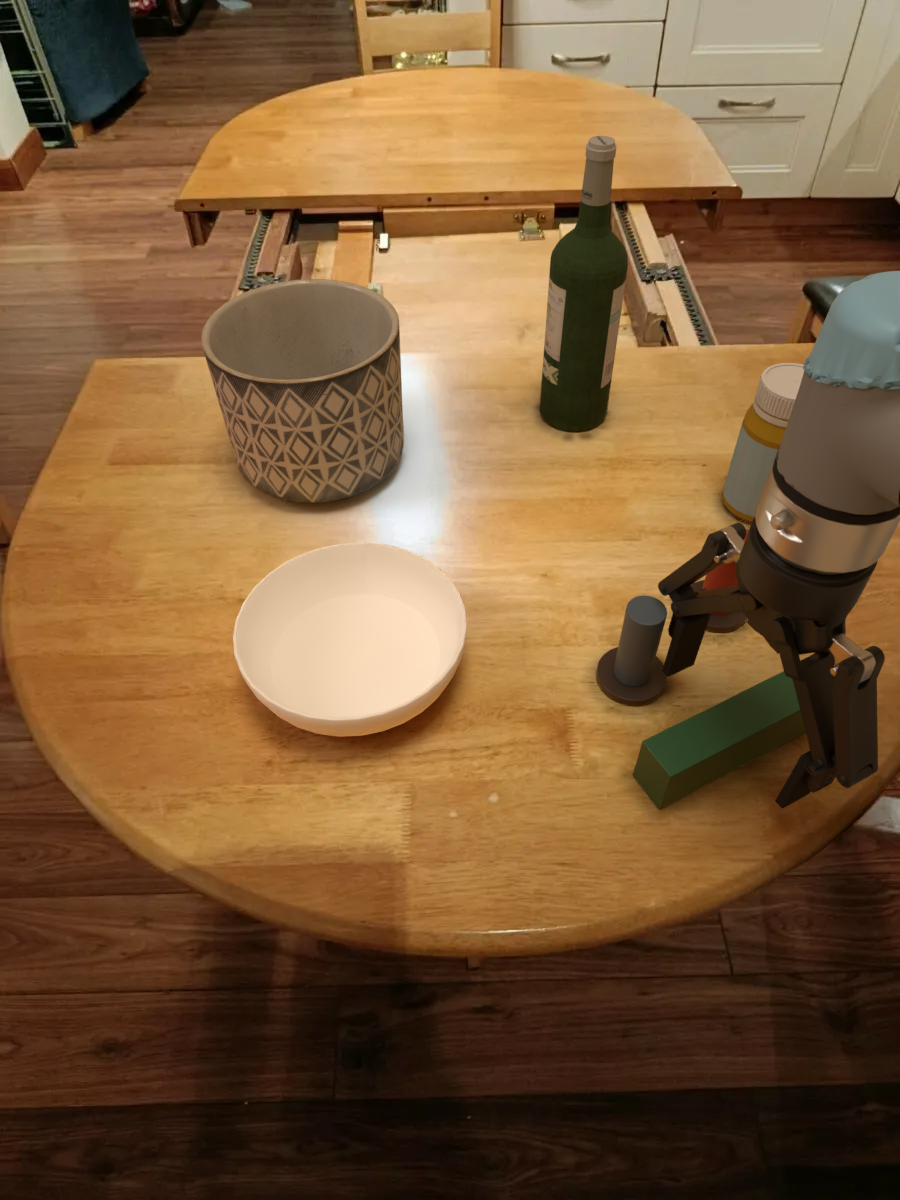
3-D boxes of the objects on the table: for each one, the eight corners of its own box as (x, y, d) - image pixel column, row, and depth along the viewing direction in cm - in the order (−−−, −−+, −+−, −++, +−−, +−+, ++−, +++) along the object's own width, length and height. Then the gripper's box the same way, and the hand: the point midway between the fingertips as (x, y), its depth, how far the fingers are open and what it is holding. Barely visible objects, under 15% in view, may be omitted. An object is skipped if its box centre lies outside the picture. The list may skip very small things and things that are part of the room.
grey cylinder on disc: (679, 679, 74) (701, 611, 67) (635, 718, 71) (652, 651, 64) (626, 640, 77) (641, 571, 70) (581, 676, 74) (593, 608, 68)
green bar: (815, 727, 70) (834, 691, 67) (659, 810, 65) (670, 777, 62) (786, 697, 72) (803, 661, 69) (632, 775, 68) (641, 740, 64)
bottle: (750, 535, 86) (793, 411, 75) (706, 495, 90) (740, 372, 79) (803, 513, 88) (852, 390, 77) (758, 475, 92) (798, 352, 81)
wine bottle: (535, 395, 103) (553, 126, 80) (599, 391, 103) (635, 123, 81) (543, 434, 97) (565, 159, 75) (612, 431, 98) (654, 155, 75)
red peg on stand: (760, 609, 79) (787, 540, 72) (721, 643, 76) (745, 574, 70) (707, 575, 82) (729, 505, 75) (668, 606, 79) (686, 537, 73)
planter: (433, 488, 91) (428, 353, 79) (259, 537, 87) (224, 402, 74) (375, 394, 103) (363, 264, 91) (219, 433, 99) (184, 301, 86)
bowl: (223, 758, 69) (206, 715, 65) (271, 584, 82) (259, 538, 78) (462, 768, 68) (461, 725, 64) (471, 590, 81) (472, 544, 77)
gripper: (641, 440, 57) (602, 637, 73) (938, 712, 43) (808, 886, 58) (728, 408, 60) (672, 606, 75) (1039, 656, 45) (888, 838, 61)
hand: (731, 729), depth 67 cm, fingers open, 13 cm apart
